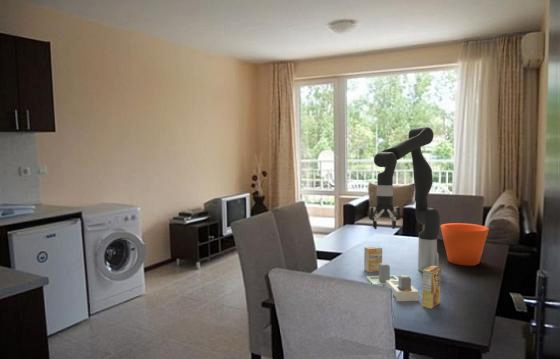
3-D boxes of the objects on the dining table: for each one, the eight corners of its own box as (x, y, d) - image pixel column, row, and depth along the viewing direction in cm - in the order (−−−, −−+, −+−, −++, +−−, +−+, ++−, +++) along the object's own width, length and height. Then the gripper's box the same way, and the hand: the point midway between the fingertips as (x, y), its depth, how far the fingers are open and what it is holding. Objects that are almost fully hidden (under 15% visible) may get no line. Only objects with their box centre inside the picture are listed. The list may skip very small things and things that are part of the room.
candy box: (430, 300, 173) (431, 265, 172) (440, 303, 170) (441, 266, 169) (421, 306, 167) (422, 269, 166) (432, 309, 164) (432, 271, 163)
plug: (387, 280, 198) (387, 262, 197) (389, 282, 194) (389, 264, 193) (378, 280, 198) (378, 262, 197) (381, 283, 194) (381, 265, 193)
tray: (394, 279, 202) (394, 275, 202) (403, 287, 190) (403, 283, 190) (366, 280, 201) (366, 276, 201) (373, 288, 189) (373, 284, 189)
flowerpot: (437, 264, 227) (437, 229, 226) (442, 254, 249) (442, 221, 248) (487, 270, 215) (488, 232, 214) (488, 258, 237) (489, 224, 236)
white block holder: (385, 288, 189) (385, 268, 188) (404, 288, 189) (405, 267, 188) (397, 301, 173) (397, 279, 172) (418, 300, 173) (418, 278, 172)
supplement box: (368, 274, 211) (368, 249, 210) (363, 271, 216) (363, 247, 215) (382, 272, 213) (382, 247, 212) (378, 270, 218) (378, 245, 217)
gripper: (397, 193, 197) (396, 227, 198) (367, 193, 197) (367, 227, 198) (402, 195, 190) (401, 230, 191) (371, 195, 189) (371, 230, 190)
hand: (384, 228), depth 194 cm, fingers open, 8 cm apart
